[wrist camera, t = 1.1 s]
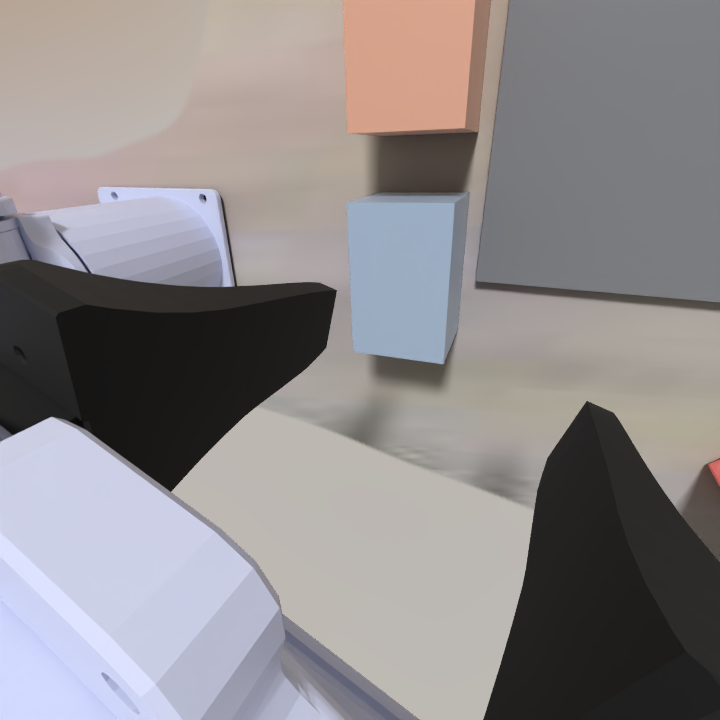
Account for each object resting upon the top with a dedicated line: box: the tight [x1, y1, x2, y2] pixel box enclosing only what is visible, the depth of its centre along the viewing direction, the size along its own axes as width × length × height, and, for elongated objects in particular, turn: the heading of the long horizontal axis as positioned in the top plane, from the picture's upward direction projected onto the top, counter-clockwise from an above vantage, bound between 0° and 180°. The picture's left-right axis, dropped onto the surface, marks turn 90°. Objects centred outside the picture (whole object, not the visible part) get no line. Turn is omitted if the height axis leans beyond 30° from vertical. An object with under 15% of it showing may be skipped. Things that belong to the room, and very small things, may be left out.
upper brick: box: [343, 0, 491, 136], centre depth 15 cm, size 4×7×4 cm, turn 3°
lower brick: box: [347, 192, 470, 364], centre depth 20 cm, size 4×7×4 cm, turn 3°
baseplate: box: [476, 0, 720, 302], centre depth 15 cm, size 14×12×1 cm
